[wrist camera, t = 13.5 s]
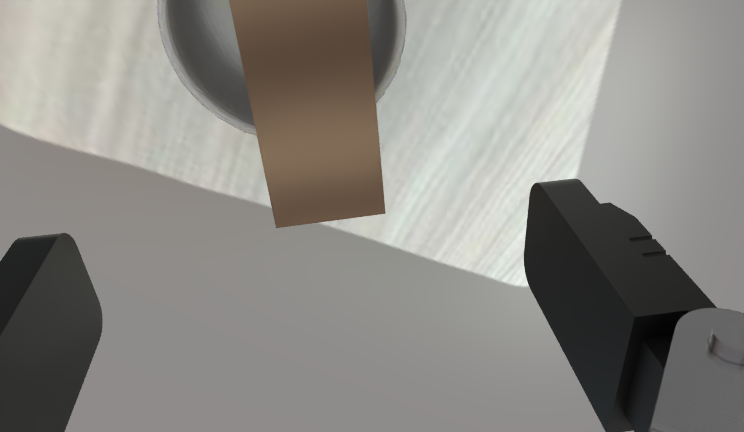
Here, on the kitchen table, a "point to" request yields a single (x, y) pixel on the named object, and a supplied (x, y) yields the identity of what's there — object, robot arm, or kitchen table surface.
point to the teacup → (223, 61)
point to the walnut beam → (312, 106)
